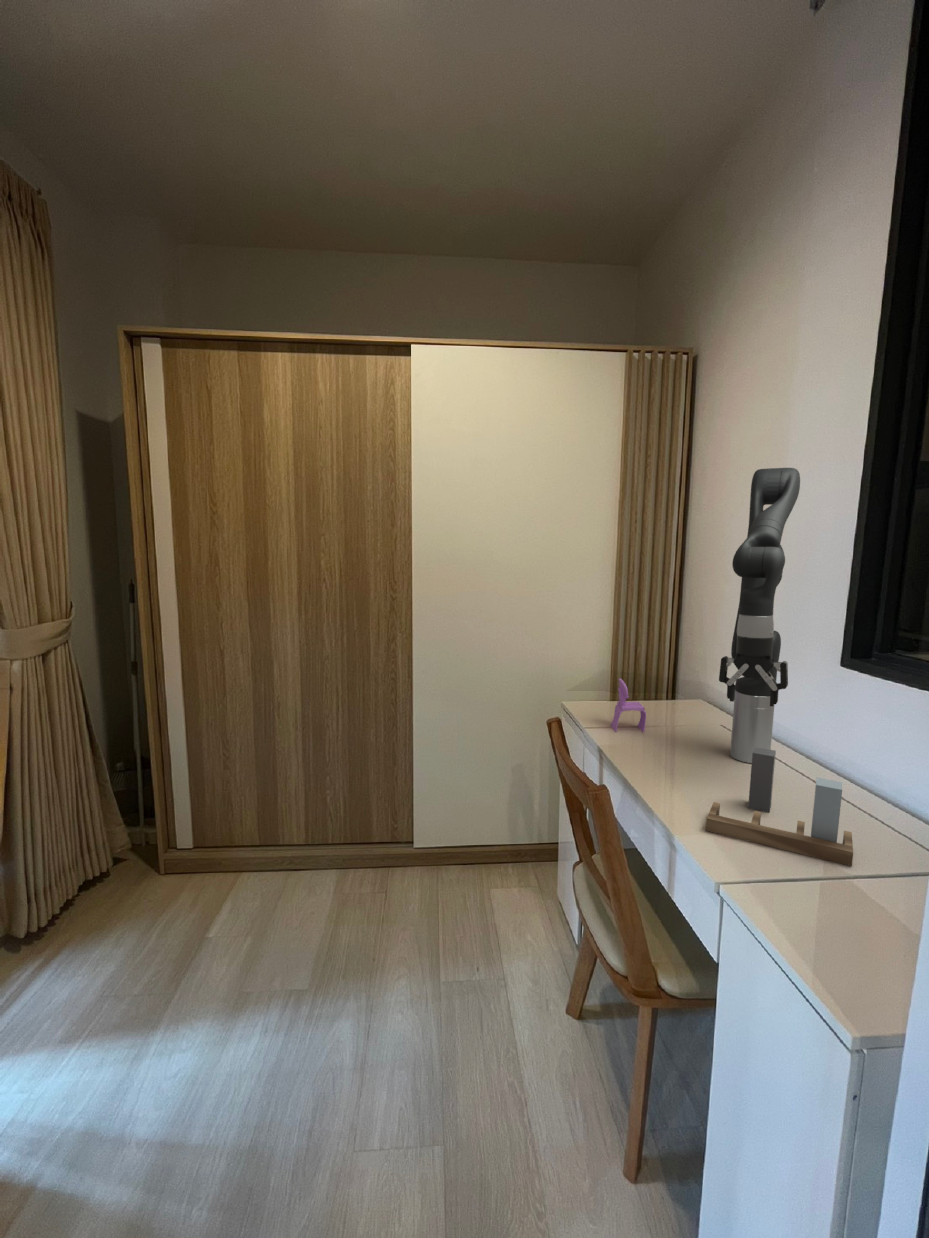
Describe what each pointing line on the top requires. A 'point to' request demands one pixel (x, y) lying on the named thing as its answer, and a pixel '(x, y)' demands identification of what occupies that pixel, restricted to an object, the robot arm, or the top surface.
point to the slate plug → (826, 809)
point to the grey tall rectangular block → (761, 779)
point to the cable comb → (781, 837)
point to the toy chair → (627, 707)
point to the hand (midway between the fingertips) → (751, 703)
